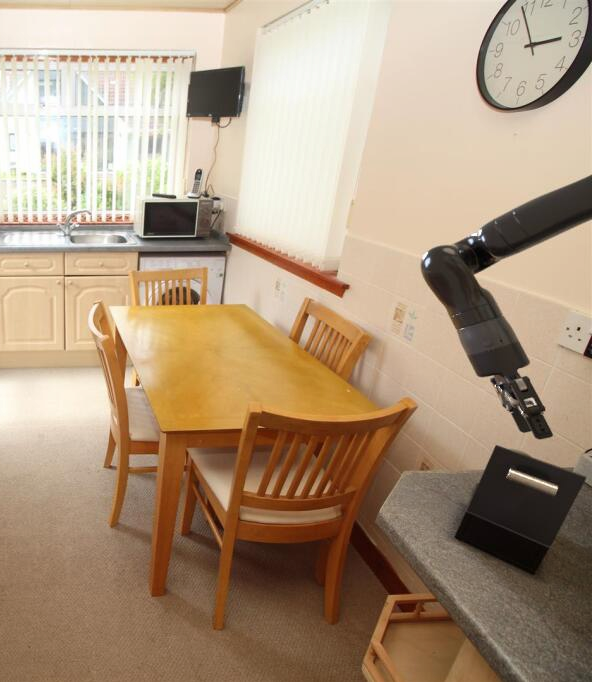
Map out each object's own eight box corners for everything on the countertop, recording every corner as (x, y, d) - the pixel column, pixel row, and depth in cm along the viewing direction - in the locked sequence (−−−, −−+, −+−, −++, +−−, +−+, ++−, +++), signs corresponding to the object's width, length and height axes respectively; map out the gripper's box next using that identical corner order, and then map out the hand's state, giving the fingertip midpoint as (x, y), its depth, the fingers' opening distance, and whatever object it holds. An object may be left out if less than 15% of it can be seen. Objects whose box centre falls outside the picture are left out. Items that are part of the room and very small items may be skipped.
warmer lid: (495, 444, 77) (493, 453, 73) (586, 476, 70) (588, 487, 67) (467, 508, 81) (463, 520, 77) (550, 544, 74) (550, 559, 70)
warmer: (465, 506, 90) (476, 482, 88) (539, 538, 84) (553, 512, 81) (454, 537, 83) (465, 511, 81) (534, 575, 76) (549, 548, 74)
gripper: (529, 337, 77) (581, 434, 73) (506, 340, 89) (549, 423, 85) (474, 353, 80) (521, 447, 77) (459, 354, 92) (499, 434, 89)
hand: (536, 434), depth 81 cm, fingers open, 8 cm apart
